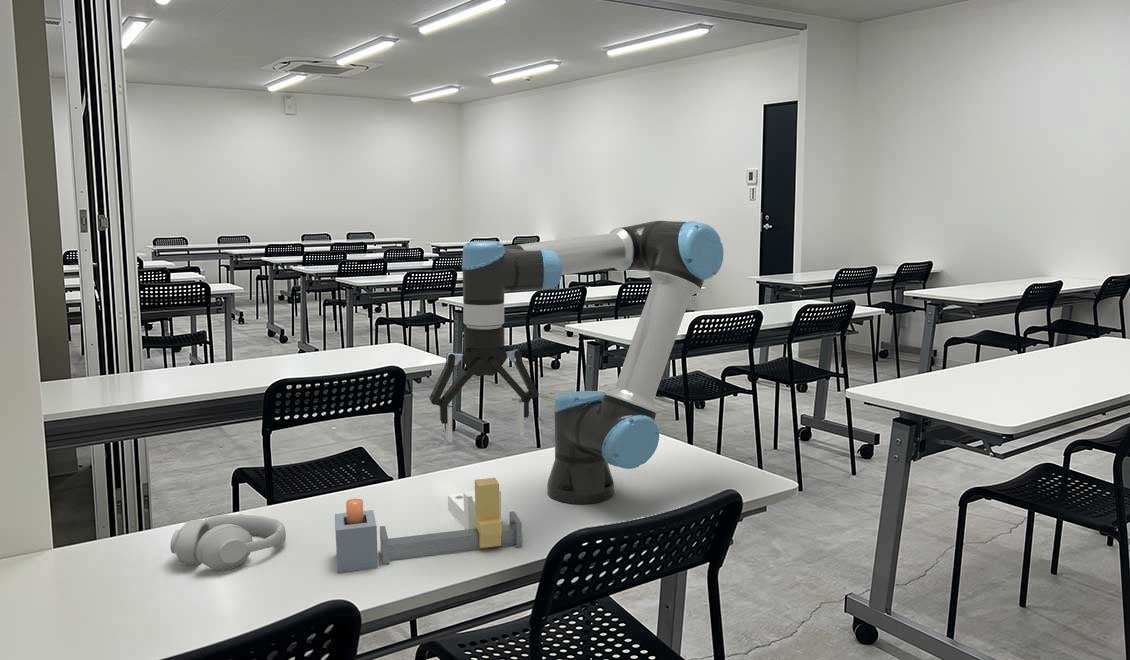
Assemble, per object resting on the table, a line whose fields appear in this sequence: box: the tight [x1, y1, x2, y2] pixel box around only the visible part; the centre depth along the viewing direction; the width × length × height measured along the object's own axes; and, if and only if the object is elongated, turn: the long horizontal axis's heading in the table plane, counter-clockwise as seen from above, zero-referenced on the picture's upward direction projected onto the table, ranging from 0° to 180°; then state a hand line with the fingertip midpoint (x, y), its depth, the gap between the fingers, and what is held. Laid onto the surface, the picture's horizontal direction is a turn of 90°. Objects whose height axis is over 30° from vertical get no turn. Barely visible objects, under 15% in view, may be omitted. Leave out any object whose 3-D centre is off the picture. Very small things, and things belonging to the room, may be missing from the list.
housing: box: [334, 509, 379, 574], centre depth 153 cm, size 7×8×8 cm
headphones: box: [170, 513, 287, 571], centre depth 157 cm, size 18×8×20 cm
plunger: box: [345, 498, 364, 525], centre depth 152 cm, size 3×3×5 cm
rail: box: [379, 510, 523, 566], centre depth 158 cm, size 26×6×5 cm, turn 107°
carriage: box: [474, 477, 502, 548], centre depth 160 cm, size 4×7×12 cm, turn 17°
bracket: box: [447, 489, 502, 530], centre depth 174 cm, size 13×7×8 cm, turn 26°
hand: (485, 437), depth 157 cm, fingers open, 13 cm apart
